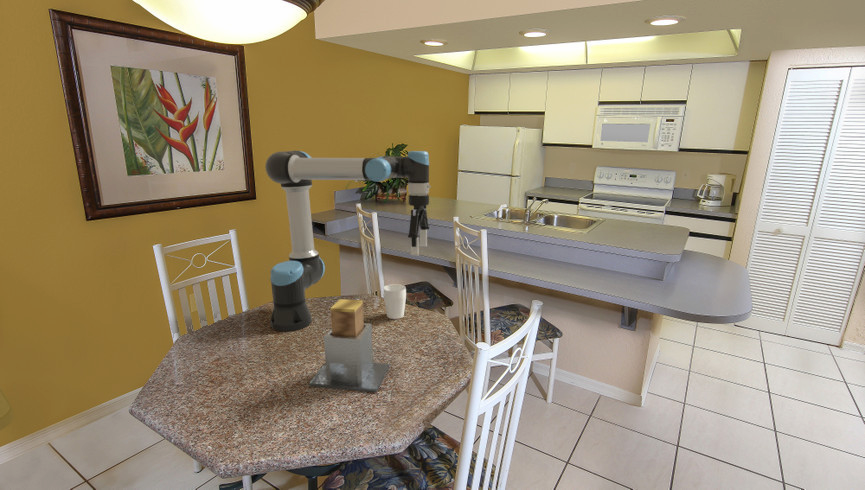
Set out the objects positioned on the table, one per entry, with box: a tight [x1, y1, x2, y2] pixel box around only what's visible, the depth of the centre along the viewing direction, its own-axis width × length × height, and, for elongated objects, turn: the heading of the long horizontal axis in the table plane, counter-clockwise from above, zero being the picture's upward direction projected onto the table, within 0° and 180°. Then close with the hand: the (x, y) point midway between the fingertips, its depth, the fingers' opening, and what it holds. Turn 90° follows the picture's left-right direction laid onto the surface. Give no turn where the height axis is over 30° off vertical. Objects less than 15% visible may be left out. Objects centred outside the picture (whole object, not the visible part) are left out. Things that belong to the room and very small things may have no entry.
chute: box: [308, 322, 390, 394], centre depth 126 cm, size 20×14×15 cm
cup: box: [382, 283, 407, 320], centre depth 170 cm, size 9×9×12 cm
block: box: [330, 298, 365, 337], centre depth 124 cm, size 7×7×14 cm
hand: (419, 250), depth 162 cm, fingers open, 13 cm apart
